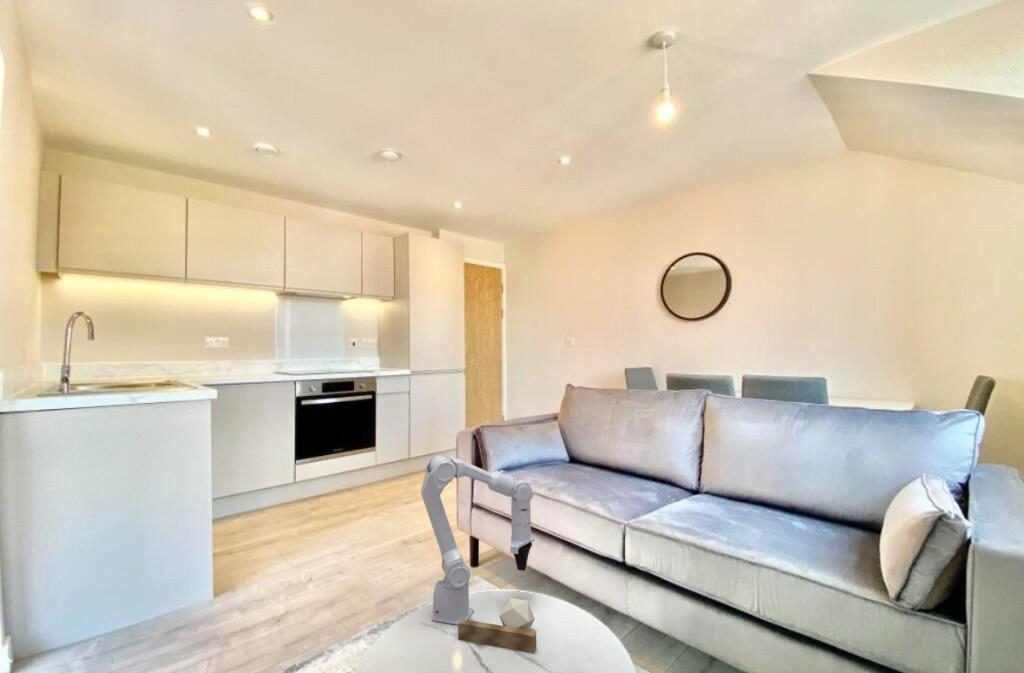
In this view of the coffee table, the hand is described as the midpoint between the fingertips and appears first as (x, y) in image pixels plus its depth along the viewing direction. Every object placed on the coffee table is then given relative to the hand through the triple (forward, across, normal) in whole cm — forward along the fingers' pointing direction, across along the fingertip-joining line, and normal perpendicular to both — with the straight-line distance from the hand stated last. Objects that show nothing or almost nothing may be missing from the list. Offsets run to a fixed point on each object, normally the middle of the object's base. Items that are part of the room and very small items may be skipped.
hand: (521, 569), depth 128 cm
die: (+10, -14, -3) cm, 18 cm away
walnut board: (+9, -20, +1) cm, 22 cm away
